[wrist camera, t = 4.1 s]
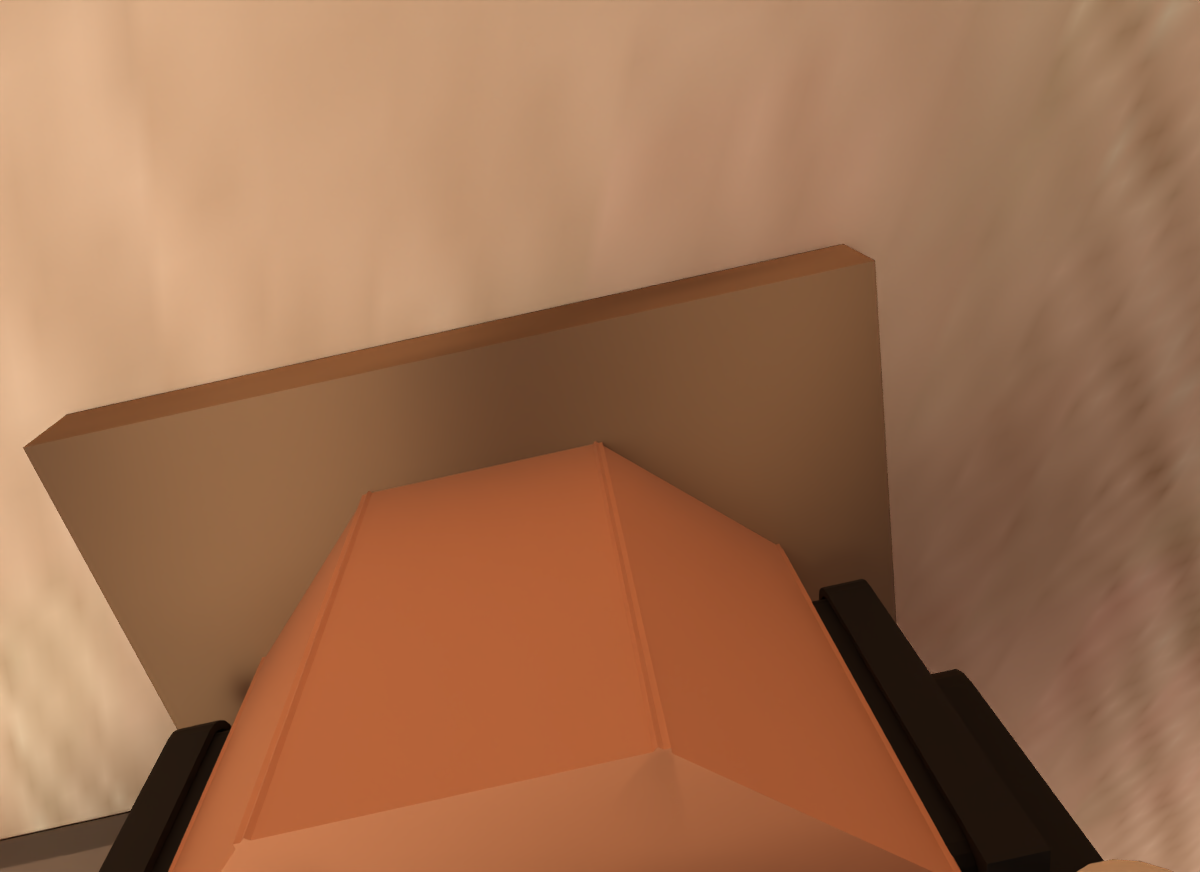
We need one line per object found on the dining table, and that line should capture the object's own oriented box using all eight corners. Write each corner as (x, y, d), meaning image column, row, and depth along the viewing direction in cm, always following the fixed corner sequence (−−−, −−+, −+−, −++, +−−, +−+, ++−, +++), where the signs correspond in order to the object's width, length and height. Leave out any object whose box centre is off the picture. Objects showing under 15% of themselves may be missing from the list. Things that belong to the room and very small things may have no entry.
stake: (844, 244, 10) (1363, 518, 4) (885, 804, 14) (1173, 1381, 8) (66, 414, 10) (-662, 966, 4) (329, 926, 14) (179, 1601, 8)
